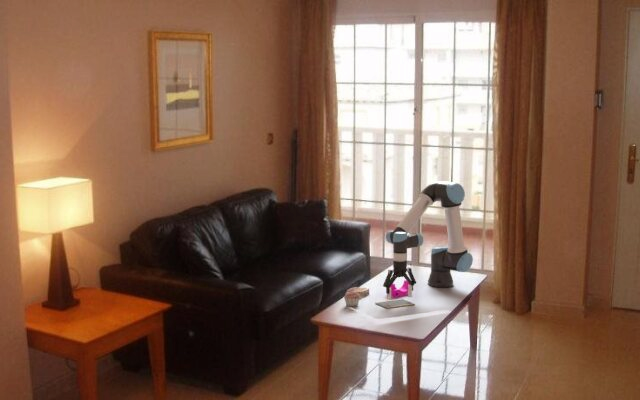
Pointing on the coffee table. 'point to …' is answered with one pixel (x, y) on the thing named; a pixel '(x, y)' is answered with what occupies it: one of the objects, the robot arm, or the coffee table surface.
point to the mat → (394, 303)
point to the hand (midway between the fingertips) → (399, 298)
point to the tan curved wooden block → (361, 291)
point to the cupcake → (352, 298)
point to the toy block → (399, 290)
